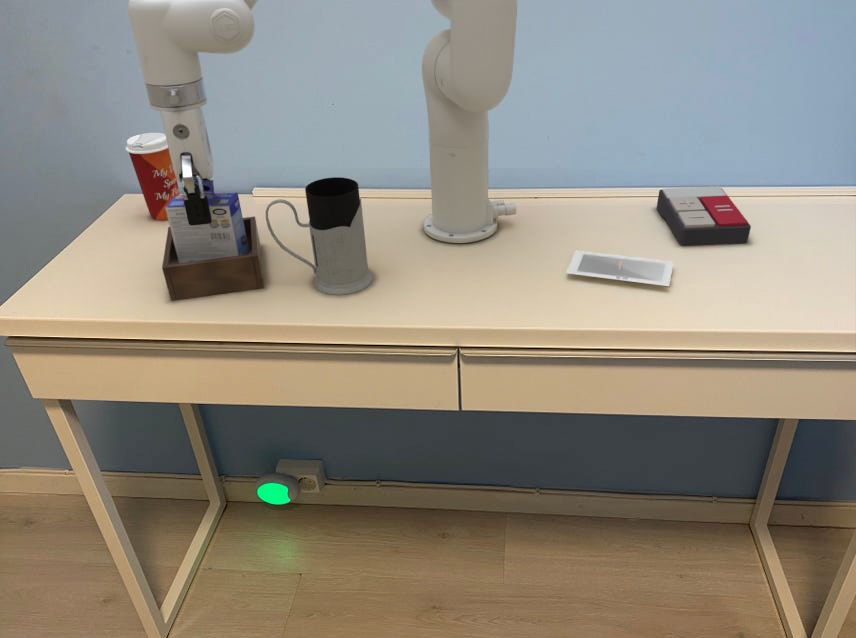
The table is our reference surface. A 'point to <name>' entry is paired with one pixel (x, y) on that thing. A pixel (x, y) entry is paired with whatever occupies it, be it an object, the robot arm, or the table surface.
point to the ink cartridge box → (208, 228)
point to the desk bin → (214, 270)
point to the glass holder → (334, 235)
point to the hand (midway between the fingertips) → (201, 210)
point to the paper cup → (154, 171)
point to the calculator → (702, 216)
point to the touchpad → (621, 268)
